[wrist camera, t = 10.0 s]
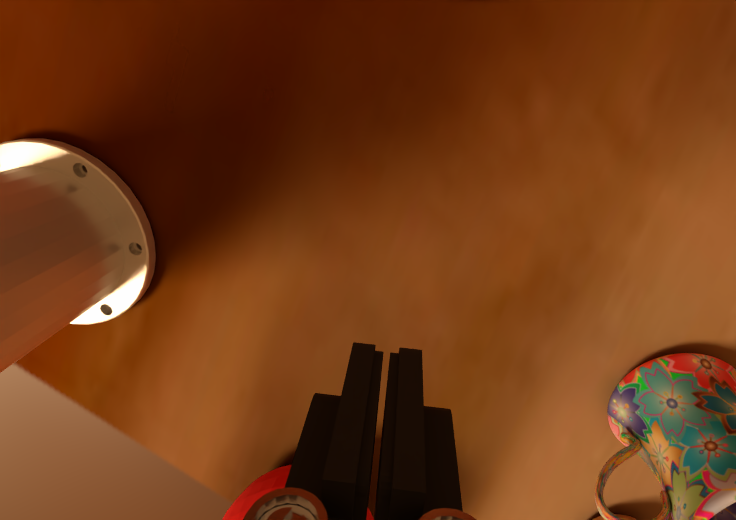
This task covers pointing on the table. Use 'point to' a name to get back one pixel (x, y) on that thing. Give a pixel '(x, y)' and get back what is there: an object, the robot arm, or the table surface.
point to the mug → (679, 434)
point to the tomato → (262, 493)
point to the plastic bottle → (626, 518)
